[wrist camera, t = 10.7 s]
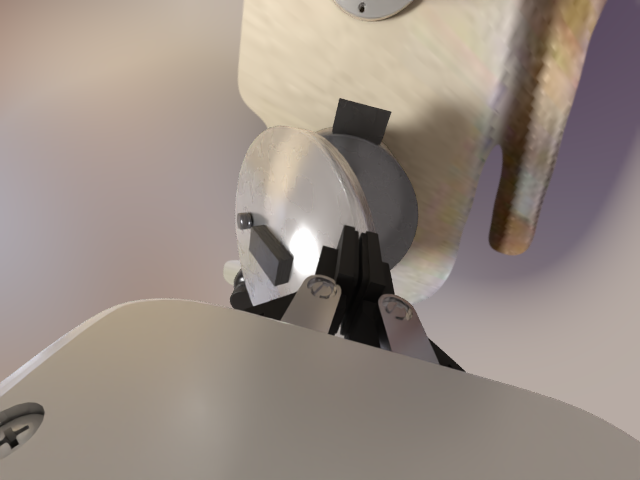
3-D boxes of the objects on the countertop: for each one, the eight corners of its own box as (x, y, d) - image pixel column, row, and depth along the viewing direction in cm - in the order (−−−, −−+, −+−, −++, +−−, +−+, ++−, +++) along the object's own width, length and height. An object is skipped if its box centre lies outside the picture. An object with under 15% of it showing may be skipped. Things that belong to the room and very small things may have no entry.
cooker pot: (296, 87, 32) (265, 78, 21) (431, 122, 31) (466, 131, 21) (273, 239, 43) (246, 282, 33) (371, 266, 43) (375, 317, 33)
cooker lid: (257, 106, 22) (226, 100, 21) (440, 188, 10) (402, 190, 9) (243, 268, 32) (222, 273, 30) (330, 410, 20) (302, 430, 18)
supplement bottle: (257, 273, 48) (228, 319, 37) (249, 242, 44) (215, 284, 34) (291, 273, 47) (271, 322, 36) (285, 242, 43) (262, 285, 33)
